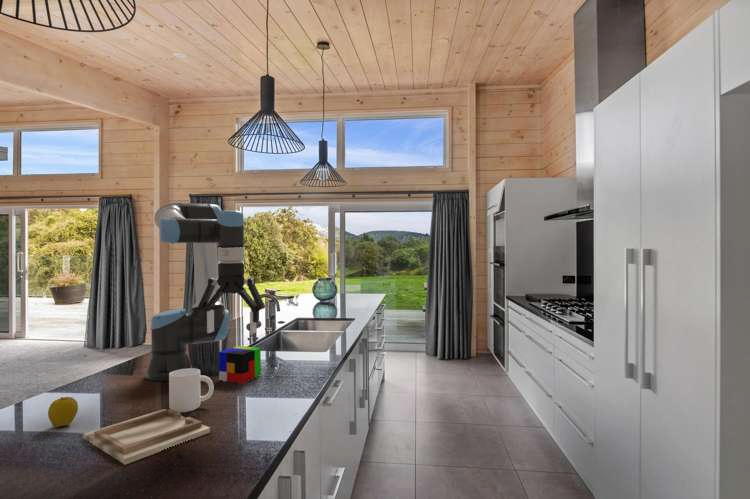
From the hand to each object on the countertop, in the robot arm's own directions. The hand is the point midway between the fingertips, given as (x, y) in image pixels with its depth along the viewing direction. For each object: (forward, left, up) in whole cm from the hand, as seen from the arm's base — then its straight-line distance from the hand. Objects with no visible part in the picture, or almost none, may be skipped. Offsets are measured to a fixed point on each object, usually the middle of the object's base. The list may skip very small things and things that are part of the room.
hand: (231, 332), depth 132 cm
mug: (-5, -10, -21) cm, 23 cm away
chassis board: (+4, -27, -20) cm, 34 cm away
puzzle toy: (-18, +16, -21) cm, 31 cm away
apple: (-20, -37, -21) cm, 47 cm away
